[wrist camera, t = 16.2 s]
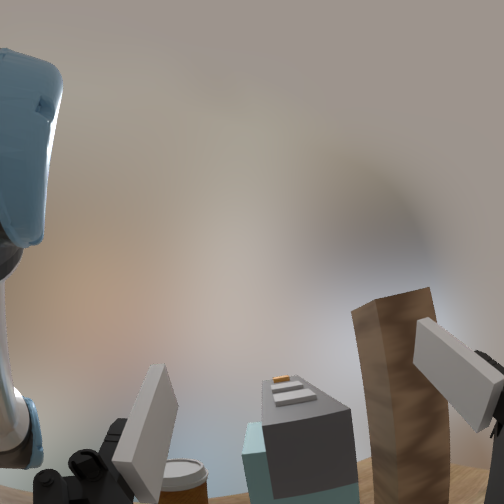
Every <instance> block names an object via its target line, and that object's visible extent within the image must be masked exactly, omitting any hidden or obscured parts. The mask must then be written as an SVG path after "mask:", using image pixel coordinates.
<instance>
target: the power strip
mask: <svg viewBox="0 0 504 504" xmlns="http://www.w3.org/2000/svg"><path fill="white" fill-rule="evenodd" d="M262 431H263V437H264V444H265V450H266V456H267V462H268V468H269V474H270V480H271V486H272V492H273V498H274V500H275V499H282V498H288V497H295V496H300V495H306V494H311V493H316V492H321V491H325V490H330V489H334V488H338V487H342V486H346V485H350V484H354V483H357V482H358V472H357V461H356V451H355V441H354V433H353V424H352V417H351V409H350V408H348V407H347V406H345V405H343V404H342V403H340V402H339V401H337V400H335V399H334V398H332V397H330V396H329V395H327V394H326V393H324V392H323V391H321V390H319V389H318V388H316V387H315V386H313V385H311V384H310V383H308V382H307V381H305V380H304V379H302V378H301V377H299V376H291V377H289V376H288V375H286V376H279V377H273V379H272V380H266V381H262Z"/></svg>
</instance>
